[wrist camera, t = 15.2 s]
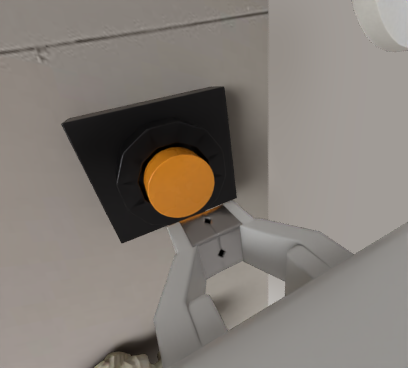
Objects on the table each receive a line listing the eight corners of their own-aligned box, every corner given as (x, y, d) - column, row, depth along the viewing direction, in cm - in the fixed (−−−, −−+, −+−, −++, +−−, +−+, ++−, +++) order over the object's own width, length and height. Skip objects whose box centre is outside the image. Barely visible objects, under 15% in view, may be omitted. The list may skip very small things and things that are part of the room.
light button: (197, 139, 13) (209, 145, 11) (208, 192, 15) (218, 204, 13) (134, 157, 12) (137, 167, 10) (154, 212, 14) (159, 227, 12)
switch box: (211, 86, 15) (239, 86, 12) (225, 187, 20) (248, 208, 16) (67, 118, 13) (52, 129, 9) (120, 227, 17) (122, 261, 14)
